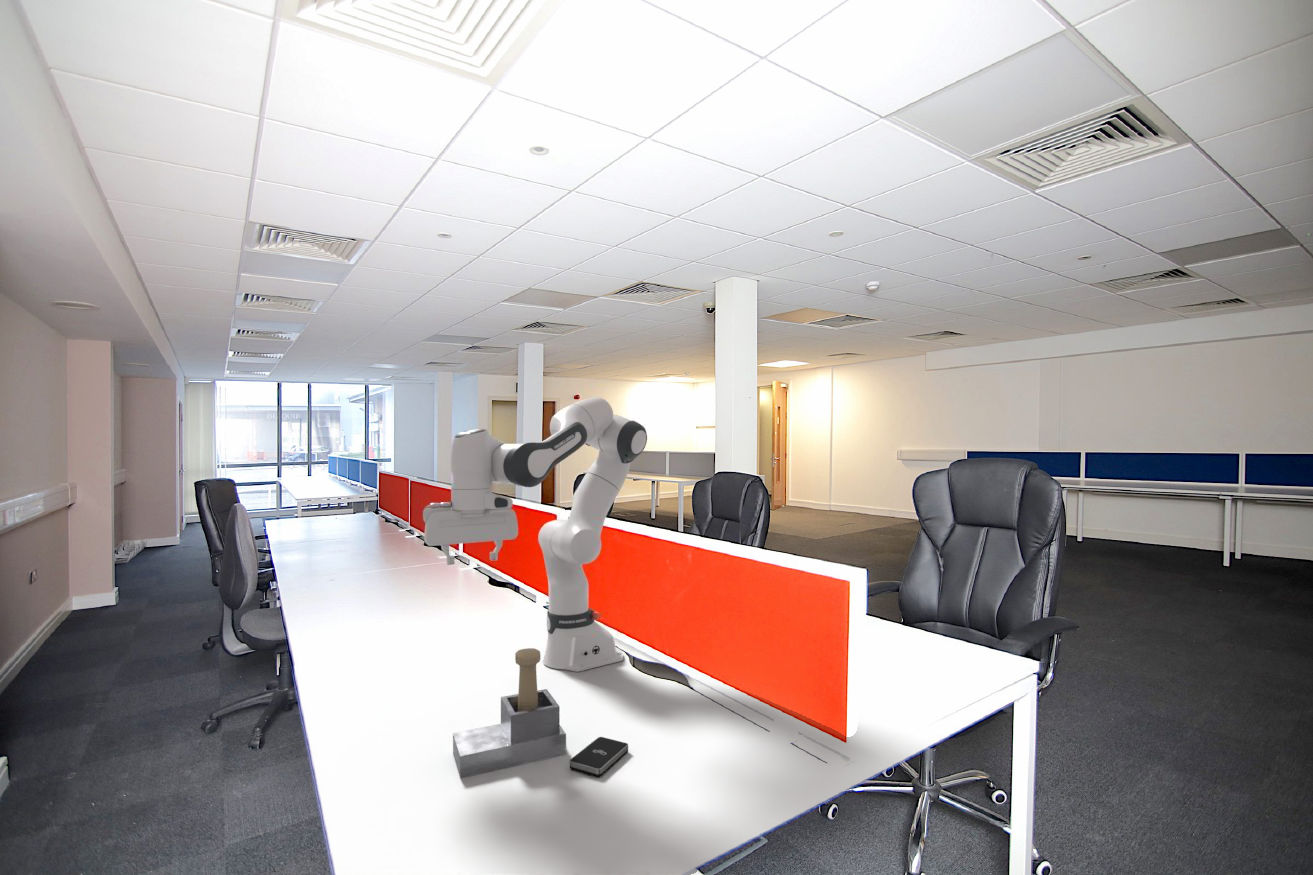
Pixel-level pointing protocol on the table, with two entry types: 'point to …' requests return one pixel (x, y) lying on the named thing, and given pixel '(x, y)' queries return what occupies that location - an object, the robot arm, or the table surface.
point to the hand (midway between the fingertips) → (472, 562)
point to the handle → (527, 678)
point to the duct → (511, 738)
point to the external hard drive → (598, 757)
